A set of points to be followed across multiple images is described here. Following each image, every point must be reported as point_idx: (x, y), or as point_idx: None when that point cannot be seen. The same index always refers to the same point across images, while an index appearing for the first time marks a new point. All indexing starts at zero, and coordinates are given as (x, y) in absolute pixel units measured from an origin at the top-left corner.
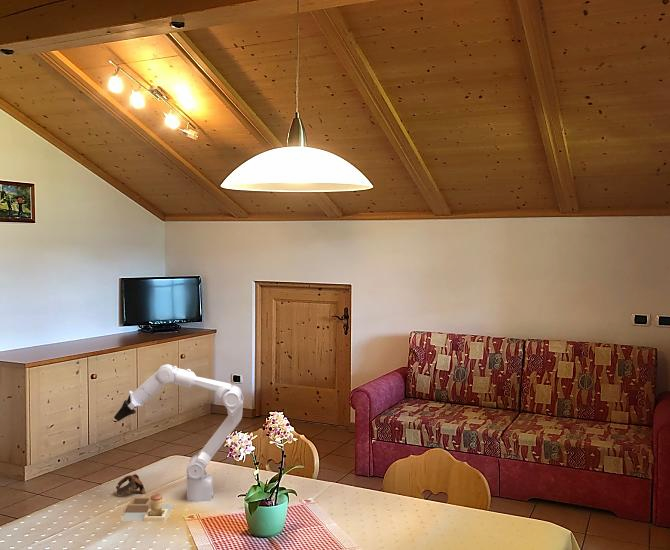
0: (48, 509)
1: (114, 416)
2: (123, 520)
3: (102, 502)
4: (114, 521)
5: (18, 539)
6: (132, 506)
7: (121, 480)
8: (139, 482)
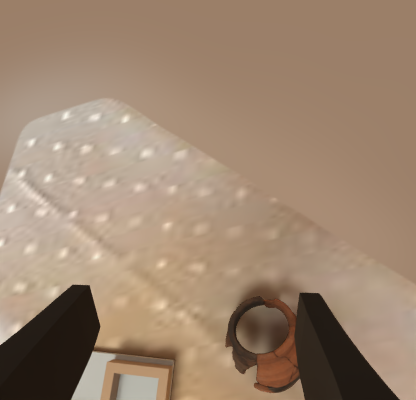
0: (187, 149)
1: (68, 289)
2: None
3: (218, 267)
4: None
5: (39, 137)
6: (104, 378)
7: (282, 310)
8: (262, 381)
